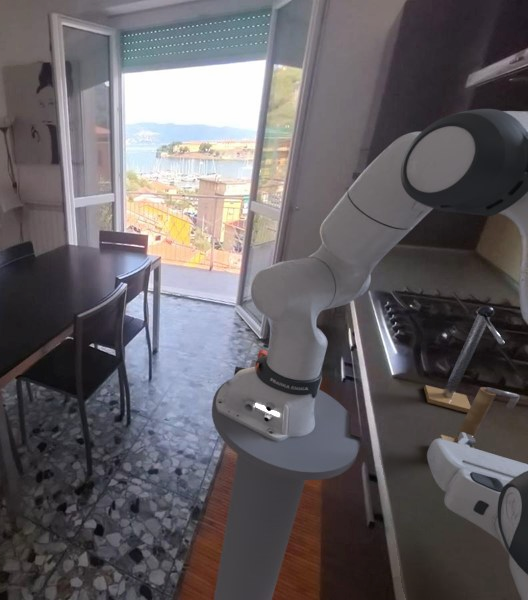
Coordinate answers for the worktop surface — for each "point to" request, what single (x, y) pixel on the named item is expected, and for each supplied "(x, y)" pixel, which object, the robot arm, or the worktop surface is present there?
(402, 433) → the worktop surface
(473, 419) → the wooden post on base
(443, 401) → the wood and metal stand
